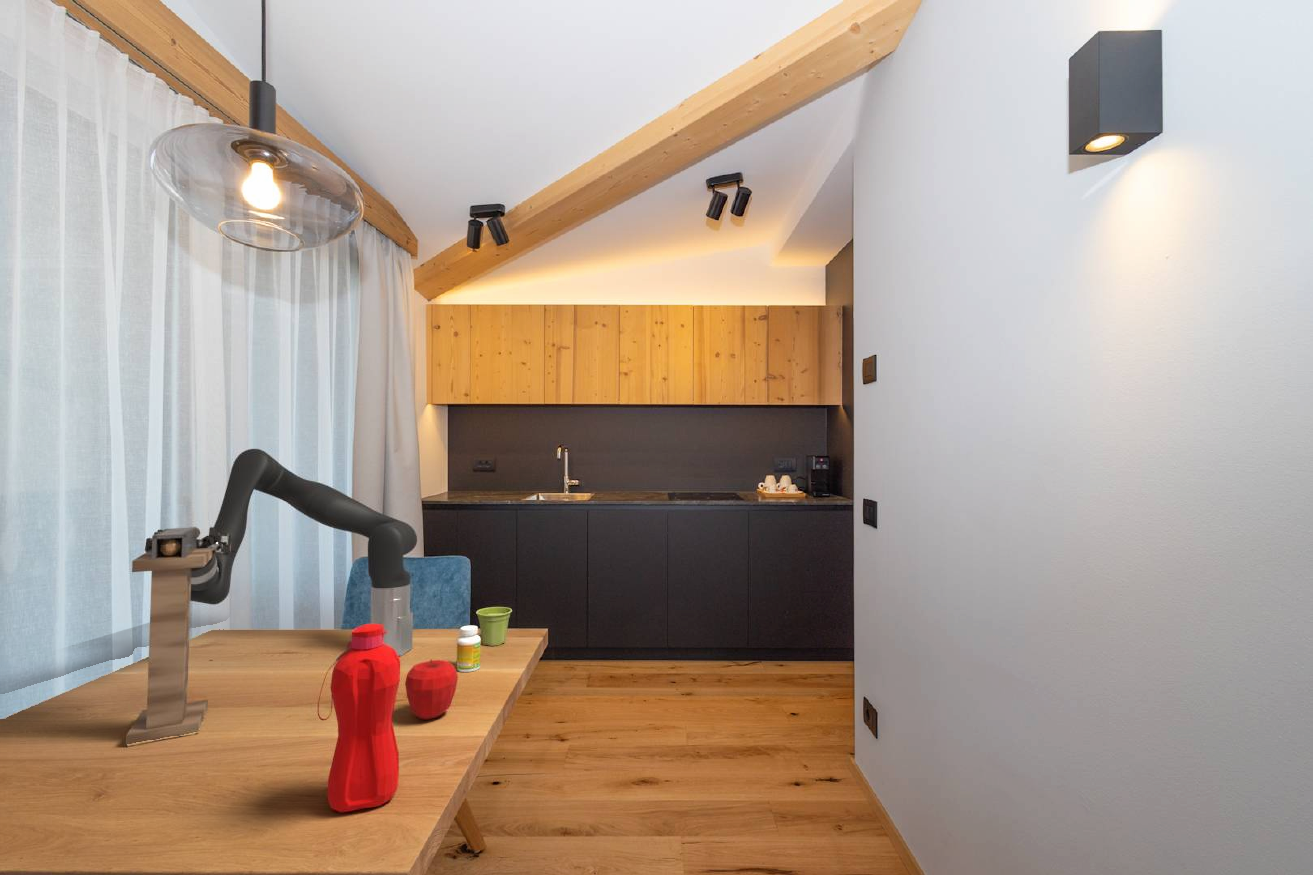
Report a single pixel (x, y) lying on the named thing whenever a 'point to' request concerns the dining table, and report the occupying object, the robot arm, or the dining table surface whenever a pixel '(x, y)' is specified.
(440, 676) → the apple
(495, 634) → the plant pot
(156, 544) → the grey hollow box
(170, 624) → the wooden pedestal stand
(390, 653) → the water bottle
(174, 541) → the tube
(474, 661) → the supplement bottle
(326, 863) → the dining table surface
